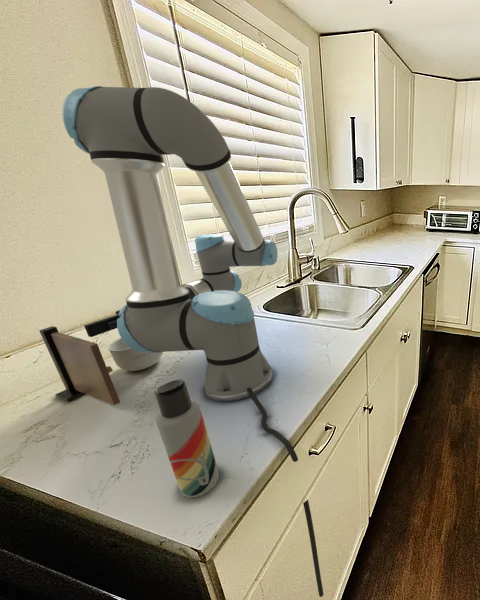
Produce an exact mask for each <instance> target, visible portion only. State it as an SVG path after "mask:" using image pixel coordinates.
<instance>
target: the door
mask: <svg viewBox="0 0 480 600" xmlns="http://www.w3.org/2000/svg"><path fill="white" fill-rule="evenodd" d="M51 337H52V339H53V341H54V343H55V346H56V348H57V350H58V352H59V354H60V357H61V359H62V361H63V363H64V366H65V368H66V370H67V372H68V375H69V377H70V379H71V381H72V383H73V386H74V388H75V390H77V391H79V392H82V393H84V395H86V396H89V397H91V398H95V399H97V400H99V401H102V402H105V403H108V404H110V405H113V406H117V405H118V404H120V403H121V400H120V398H119V396H118V392H117V390H116V387H115V385H114V382H113V380H112V378H111V374H110V373H112V372H113V371H114V370H113V367H111V366H110V365H109V366H107V365H106V362H105V360H104V357H103V355H102V352H101V350H100V347H99V344H98V343H96V342H93V341H89V340H87V339H83V338H79V337H76V336H73V335H69V334H65V333H63V332H59V331H58V332H55V333H52V334H51Z"/></svg>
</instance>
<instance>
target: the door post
mask: <svg viewBox="0 0 480 600" xmlns="http://www.w3.org/2000/svg"><path fill="white" fill-rule="evenodd" d="M38 331H39V333H40V336H41V338H42V340H43V342H44V344H45V347H46V349H47V351H48V353H49V355H50V357H51V360H52V362H53V364H54V366H55V369H56V370H57V373H58V375H59V378H60V379H61V381H62V384H63V386H64V388H65V389H63V390H62V391H60V392H57V393H56V394H55V397H56V398H57V399H60V400H62V401H65V402H67V403H70V402H71V401H74V400H75V399H78V398H79V397H81V396H84V395H85V394H84V393H82V392H79V391H77V390H75V388H74V386H73V383H72V381H71V379H70V377H69V375H68V372H67V370H66V368H65V366H64V363H63V361H62V359H61V357H60V354H59V352H58V350H57V348H56V346H55V343H54V341H53V339H52V337H51V334H52V333H55V332H59V330H58V327H57V326H53V325H52V326H49V327H45V328H42V329H39V330H38Z"/></svg>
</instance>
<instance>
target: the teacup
mask: <svg viewBox="0 0 480 600" xmlns="http://www.w3.org/2000/svg"><path fill="white" fill-rule="evenodd" d="M107 350H108V351H109V353H110V355H111V357H112V359H113V361H114V363H115V364H116V366H117V368H119V369H121V370H125V371H130V372H137V371H142V370H145V369H148V368H150V367H152V366H153V365H155V364H157V362H158V361H159V359H160V358H161V357H162V356H163V352H160V353H153V352H140V351H136V350H134V349H132V348H130V347H129V346H128V345H126V344H125V343H124V341H123V340H122V338H121V337H119V338H118V339H116V340H113V341H112V342H110V343H109V345H108V346H107Z"/></svg>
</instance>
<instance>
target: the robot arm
mask: <svg viewBox="0 0 480 600" xmlns="http://www.w3.org/2000/svg"><path fill="white" fill-rule="evenodd" d="M61 111H62V122H63V125H64V128H65V131H66V133H67V134H68V137H70V139H73V143H74V144H75V145H76V147H78V148H79V149H80V150H81V151H83V152H84V153H86V154H89V157H90V160H91V163H92V164H93V165H95V166H96V167H98V168H99V169H100V170H101V171H102V172H103V173H104V176H105V180H106V185H107V189H108V193H109V196H110V201H111V205H112V210H113V214H114V218H115V222H116V226H117V231H118V235H119V239H120V243H121V247H122V251H123V254H124V260H125V264H126V267H127V272H128V277H129V279H130V284H131V288H132V290H131V291H130V293H129V294H128V295H127V296H126V297H125V303H126V304H125V305H124V306H122V308H120V309H119V310H116V311H115V315H111V316H108V317H105V318H102V319H99V320H96V321H93V322H91V323H87V324H83V327H84V329H85V332H86V334H87V336H88V337H90V338H93V337H97V336H99V335H102V334H104V333H107V332H110V331H113V330H115V329H117V332H118V334H119V337H120V338H122V340H123V341H124V343H125V344H126V345H128V346H129V347H130V348H132V349H134V350H136V351H140V352H153V353H160V352H162V353H169V352H187V351H203V352H204V355H205V359H206V369H205V378H204V382H203V383H204V390H205V395H206V396H207V397H208V398H209V399H210V400H213V401H217V402H235V401H239V400H244V399H247V398H251V400H252V401H253V403H254V404H255V406H256V408H257V409H258V411H259V412H260V414H261V422H260V424H261V428H262V430H263V431H264V432H266V433H268V434H270V435H271V436H274V437H275V438H276V439H277V440H278V441H279V442H281V444H283V446H284V447H285V448H286V450H287V452H288V453H289V454H288V455H289V456H290V458H291V461H292V462H294V463H296V462H298V460H299V458H298V454H297V453H296V450H295V449H294V447H293V445H292V444H291V442H290V441H289V440H288V439H287V438H286V437H285V436H284V435H283V434H282V433H280V432H279V431H277V430H276V429H274V428H271V427H269V426H268V424H267V420H268V419H267V418H268V415H267V411H266V409H265V407H264V406H263V404H262V403H261V402H260V400H259V398H258V397H257V396H256V395H257V394H258V393H259V392H261V391H262V390H265V388H266V387H268V385H269V384H270V383H271V381H272V379H273V370H272V367H271V365H270V363H269V361H268V360H267V358H266V356H265V355H264V354H263V352H262V350H261V348H260V343H259V337H258V331H257V326H256V321H255V312H254V310H253V307H252V304H251V300H250V298H249V297H248V296H246V295H245V294H244V293H241V292H240V290H241V289H242V286H243V285H242V279H241V278H240V276H239V274H238V273H237V272H236V271H234V270H231V268H232V267H265V266H274V265H275V264H276V262H277V261H278V247H277V244H276V242H275V241H274V240H269V239H264V236H263V235H262V232H261V229H260V227H259V225H258V223H257V221H256V218H255V217H254V214H253V211H252V209H251V207H250V205H249V203H248V200H247V198H246V196H245V194H244V191H243V189H242V187H241V185H240V182H239V180H238V177H237V176H236V173H235V171H234V168H233V167H232V163H231V162H230V161H231V159H232V153H231V150H230V148H229V146H228V144H227V142H226V139H225V137H224V136H223V134H222V133H221V131H220V130H219V129H218V127H217V126H216V125H215V123H214V122H213V121H212V120H211V119H210V118H209V117H208V116H207V115H206V113H204V112H203V111H202V110H201V109H200V108H199V107H198V106H197V105H196V104H194V103H193V102H192V101H190V100H188V99H187V98H186V97H184V96H183V95H181V94H179V93H177V92H175V91H172V90H170V89H167V88H163V87H158V86H157V87H156V86H151V87H150V86H149V87H131V86H130V87H128V86H127V87H126V86H125V87H124V86H123V87H122V86H117V87H116V86H101V85H97V86H96V85H95V86H91V87H79V88H75V89H73V90H72V91H70V93H69V94H67V95H66V97H65V98H64V101H63V104H62V110H61ZM164 155H165V156H168V155H175V156H177V157H179V158H180V159H181V160H182V162H183V163H184V165H185V167H186V168H187V169H189V170H190V171H192V172H195V174H196V176H197V178H198V180H199V182H200V183H201V185H202V187H203V188H204V190H205V192H206V194H207V195H208V197H209V199H210V201H211V202H212V205H213V206H214V208H215V210H216V211H217V214H218V215H219V217H220V219H221V221H222V222H223V225H224V226H225V227H226V229H227V231H228V233H229V235H230V237H231V238H232V240H225V239H224V236H223V235H222V234H219V233H209V234H202V235H198V236H197V237H195V239H194V243H195V251H196V254H197V259H198V262H199V267H200V270H201V274H202V278H199V279H196V280H192V281H188V282H186V283H183V284H181V282H180V278H179V273H178V268H177V264H176V258H175V253H174V248H173V244H172V243H173V242H172V237H171V233H170V229H169V223H168V218H167V213H166V209H165V204H164V198H163V192H162V189H161V184H160V183H161V182H160V178H159V173H160V172H161V171H162V170H163V169H164V168H165V167H166V164H165V159H164ZM302 504H303V505H302V506H303V509H304V514H305V519H306V524H307V530H308V536H309V543H310V549H311V554H312V561H313V567H314V573H315V579H316V587H317V591H318V597H320V598H322V597H323V596H324V588H323V582H322V576H321V569H320V563H319V562H320V561H319V555H318V548H317V542H316V541H317V540H316V535H315V529H314V523H313V519H312V513H311V508H310V507H311V506H310V502H309V499H306V500H305V501H304V502H303V503H302Z"/></svg>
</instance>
